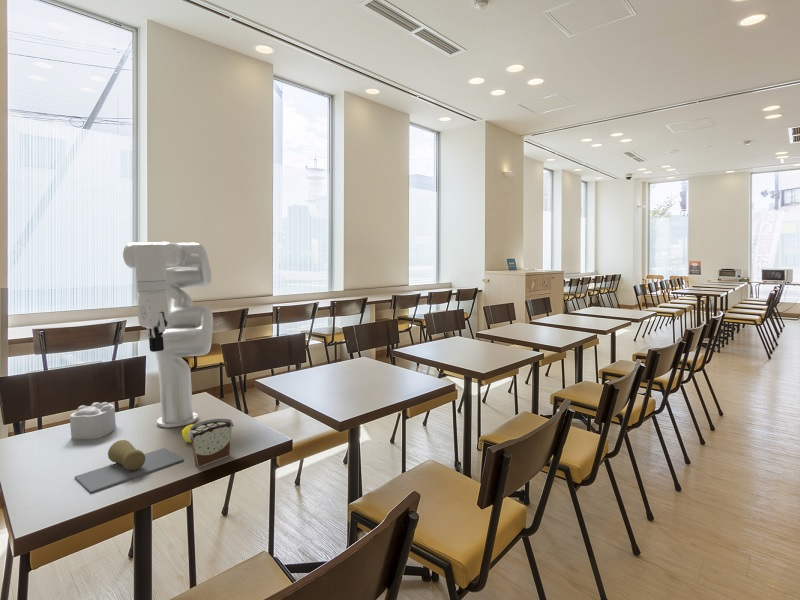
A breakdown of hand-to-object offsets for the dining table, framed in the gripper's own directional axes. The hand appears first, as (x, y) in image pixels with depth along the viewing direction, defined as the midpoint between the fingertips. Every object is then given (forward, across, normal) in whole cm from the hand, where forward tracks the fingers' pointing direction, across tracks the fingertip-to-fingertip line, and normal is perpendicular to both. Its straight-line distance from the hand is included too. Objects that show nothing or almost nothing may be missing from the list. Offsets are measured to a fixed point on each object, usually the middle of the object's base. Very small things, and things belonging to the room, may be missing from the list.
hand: (156, 350), depth 133 cm
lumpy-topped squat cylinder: (+29, -29, -9) cm, 42 cm away
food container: (+29, +18, +4) cm, 34 cm away
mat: (+28, +9, -12) cm, 32 cm away
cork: (+26, +2, -12) cm, 28 cm away
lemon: (+29, +4, +7) cm, 30 cm away
